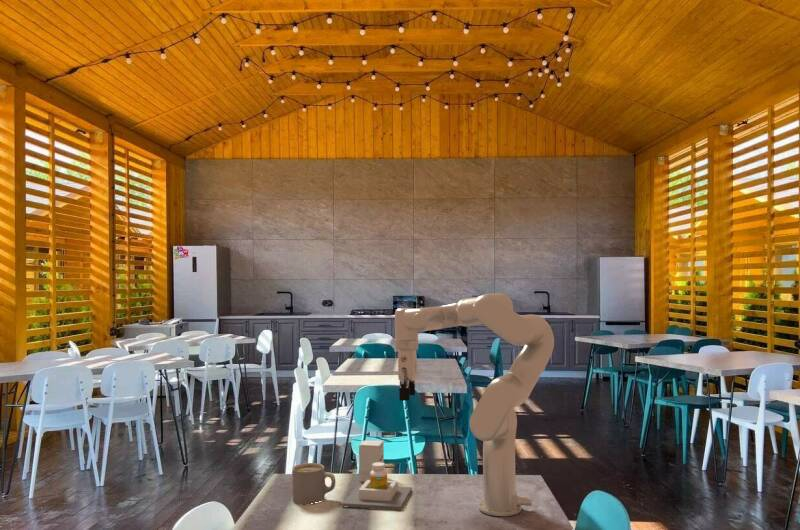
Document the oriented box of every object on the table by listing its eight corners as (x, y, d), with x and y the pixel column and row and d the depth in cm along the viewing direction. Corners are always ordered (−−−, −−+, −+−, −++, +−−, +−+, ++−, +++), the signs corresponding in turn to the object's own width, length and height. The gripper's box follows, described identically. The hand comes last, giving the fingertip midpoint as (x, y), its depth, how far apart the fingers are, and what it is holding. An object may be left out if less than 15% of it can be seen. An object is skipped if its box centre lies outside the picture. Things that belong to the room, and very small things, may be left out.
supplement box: (379, 483, 213) (379, 445, 213) (358, 482, 214) (358, 444, 215) (384, 476, 220) (384, 440, 220) (364, 475, 222) (363, 439, 222)
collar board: (411, 491, 204) (411, 478, 204) (400, 510, 187) (400, 496, 187) (358, 488, 208) (358, 475, 208) (342, 507, 190) (342, 493, 190)
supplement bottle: (373, 499, 194) (373, 467, 194) (367, 493, 198) (367, 462, 199) (390, 496, 196) (389, 465, 196) (383, 491, 201) (383, 460, 201)
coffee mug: (288, 503, 194) (287, 471, 194) (299, 493, 203) (299, 462, 204) (329, 506, 191) (329, 473, 191) (338, 495, 201) (338, 464, 201)
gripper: (413, 348, 197) (413, 402, 196) (422, 343, 214) (423, 393, 213) (389, 348, 198) (390, 402, 198) (400, 342, 215) (401, 392, 215)
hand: (407, 397), depth 205 cm, fingers open, 9 cm apart
